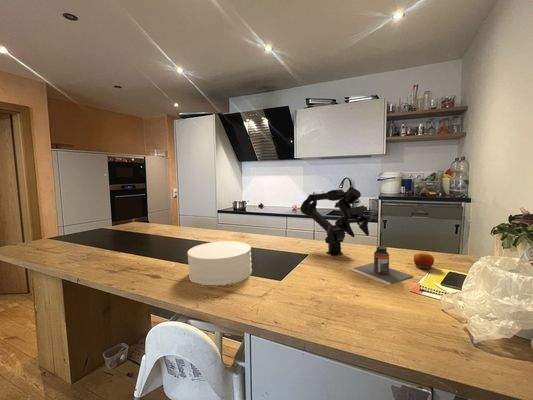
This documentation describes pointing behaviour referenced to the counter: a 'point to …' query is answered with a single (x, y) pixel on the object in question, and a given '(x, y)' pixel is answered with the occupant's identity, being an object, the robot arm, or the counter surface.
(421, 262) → the fruit
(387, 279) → the mat
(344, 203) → the robot arm
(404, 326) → the counter surface
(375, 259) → the supplement bottle
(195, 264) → the plate stack
